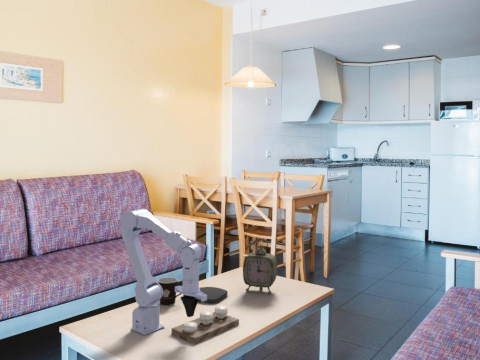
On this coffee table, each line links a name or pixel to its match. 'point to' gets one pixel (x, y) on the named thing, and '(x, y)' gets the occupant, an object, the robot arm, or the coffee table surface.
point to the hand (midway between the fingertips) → (190, 316)
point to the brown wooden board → (206, 328)
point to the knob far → (221, 311)
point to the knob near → (190, 327)
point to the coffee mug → (168, 290)
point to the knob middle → (206, 317)
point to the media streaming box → (213, 294)
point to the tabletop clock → (259, 268)
